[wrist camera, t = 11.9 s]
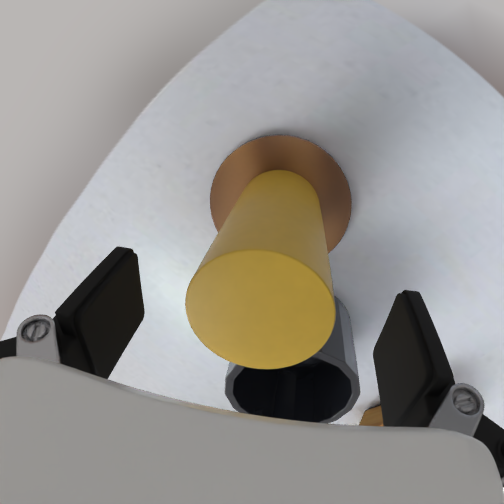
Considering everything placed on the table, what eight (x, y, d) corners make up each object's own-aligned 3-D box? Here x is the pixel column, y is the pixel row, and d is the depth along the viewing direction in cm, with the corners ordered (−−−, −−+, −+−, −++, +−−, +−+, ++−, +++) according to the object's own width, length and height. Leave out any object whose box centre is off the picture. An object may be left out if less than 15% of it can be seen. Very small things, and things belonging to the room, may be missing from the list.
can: (302, 157, 20) (304, 225, 10) (331, 230, 22) (352, 351, 12) (226, 187, 22) (158, 278, 11) (259, 255, 24) (226, 379, 13)
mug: (246, 275, 26) (227, 338, 19) (363, 292, 25) (379, 357, 18) (236, 380, 32) (222, 439, 25) (326, 392, 31) (326, 452, 24)
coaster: (319, 112, 19) (320, 113, 19) (367, 241, 23) (368, 245, 22) (188, 169, 22) (186, 170, 22) (246, 281, 26) (245, 285, 25)
